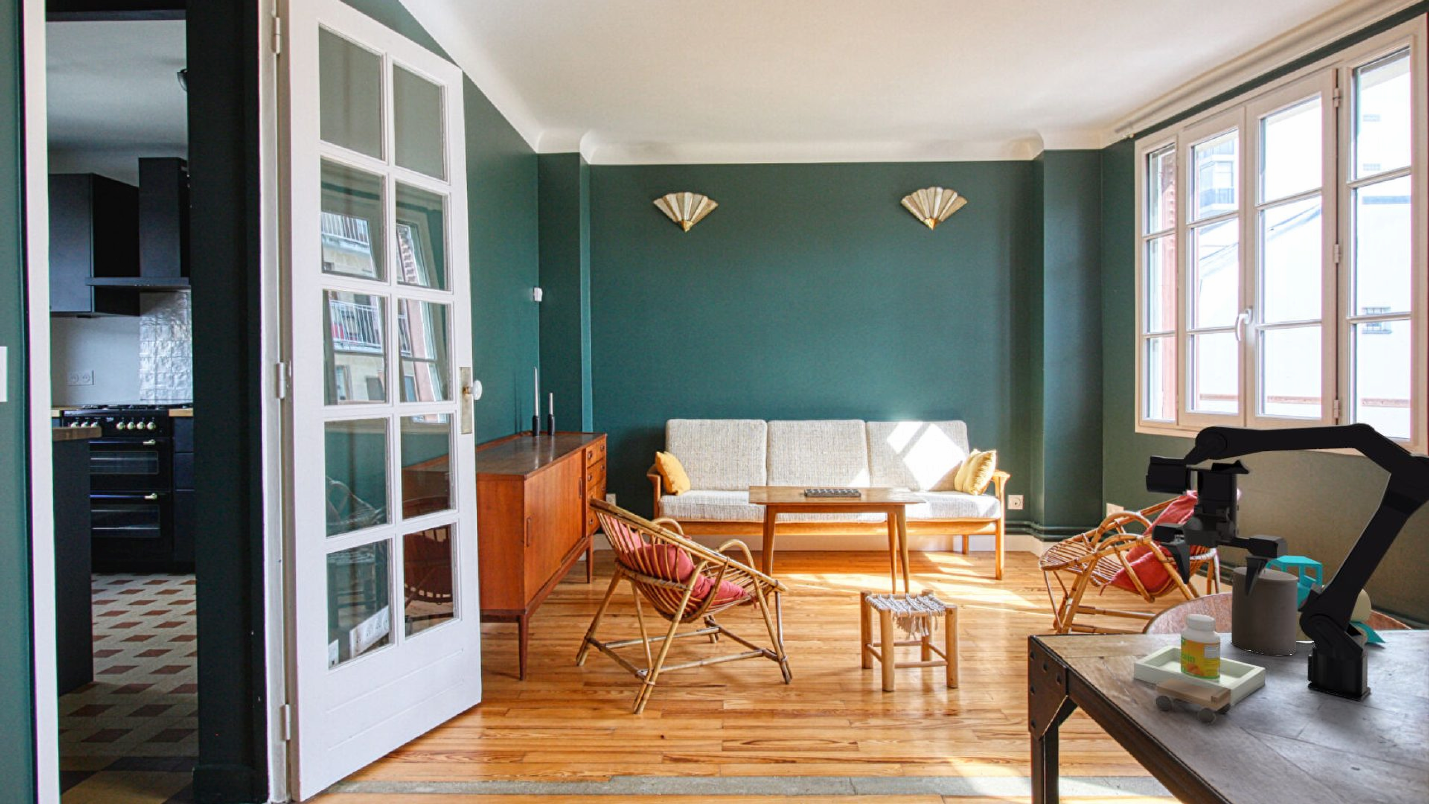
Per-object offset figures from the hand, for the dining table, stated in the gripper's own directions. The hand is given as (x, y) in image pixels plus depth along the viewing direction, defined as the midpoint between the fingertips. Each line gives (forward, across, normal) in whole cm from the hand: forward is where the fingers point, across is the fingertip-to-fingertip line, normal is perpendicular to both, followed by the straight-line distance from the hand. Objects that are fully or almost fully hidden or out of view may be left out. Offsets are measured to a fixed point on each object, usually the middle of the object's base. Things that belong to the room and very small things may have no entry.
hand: (1215, 589), depth 128 cm
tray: (+13, +1, -10) cm, 16 cm away
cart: (+13, +5, -23) cm, 27 cm away
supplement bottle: (+13, +1, -10) cm, 16 cm away
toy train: (+13, +7, +32) cm, 35 cm away
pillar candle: (+13, +2, +17) cm, 22 cm away
